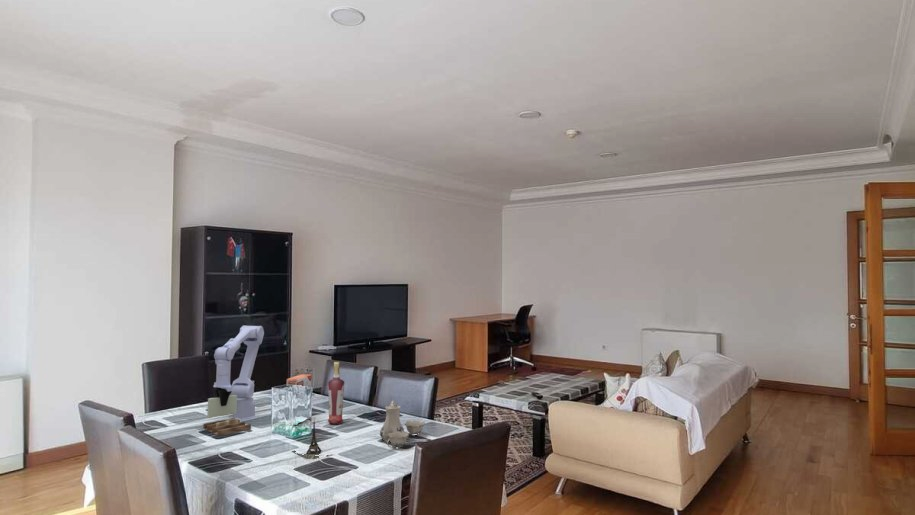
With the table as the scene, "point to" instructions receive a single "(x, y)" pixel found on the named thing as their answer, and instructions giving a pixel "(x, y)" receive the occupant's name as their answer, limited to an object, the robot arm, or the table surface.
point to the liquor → (335, 396)
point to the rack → (226, 427)
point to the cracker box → (300, 380)
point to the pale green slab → (221, 407)
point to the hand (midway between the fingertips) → (222, 405)
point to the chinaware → (398, 427)
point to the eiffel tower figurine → (314, 446)
